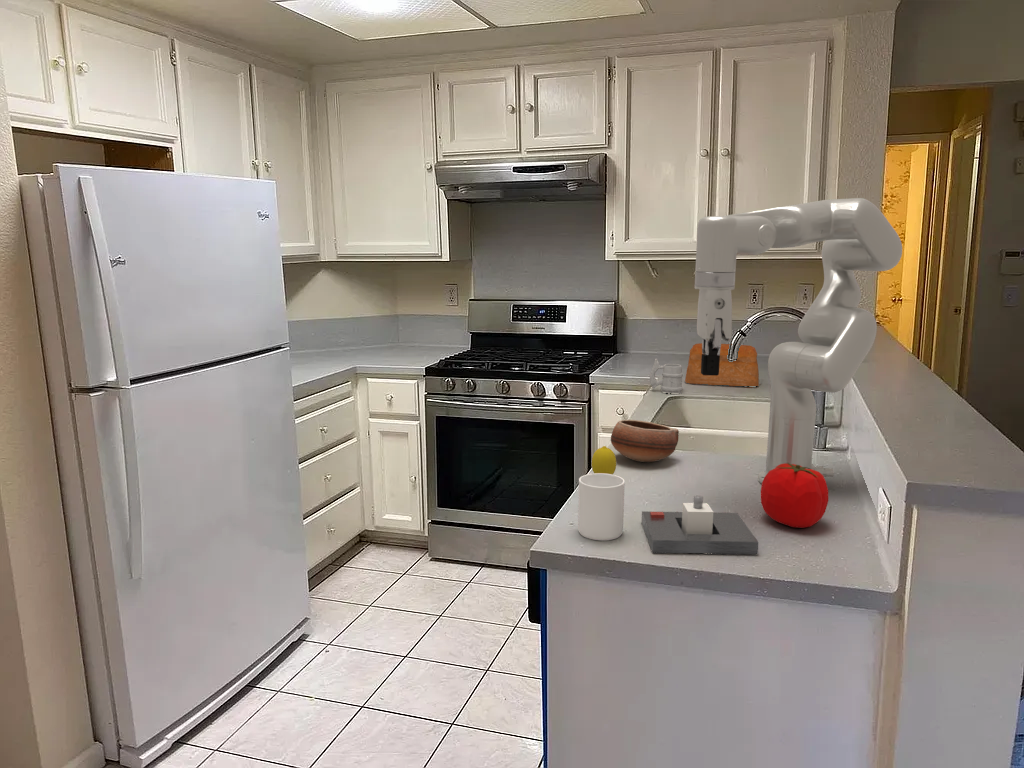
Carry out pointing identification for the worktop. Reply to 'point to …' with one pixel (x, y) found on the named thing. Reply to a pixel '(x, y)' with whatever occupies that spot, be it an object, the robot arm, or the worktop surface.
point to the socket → (698, 535)
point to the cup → (601, 506)
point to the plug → (697, 517)
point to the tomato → (794, 495)
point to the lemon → (604, 461)
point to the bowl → (644, 440)
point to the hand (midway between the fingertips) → (709, 374)
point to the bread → (725, 368)
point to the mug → (668, 377)
